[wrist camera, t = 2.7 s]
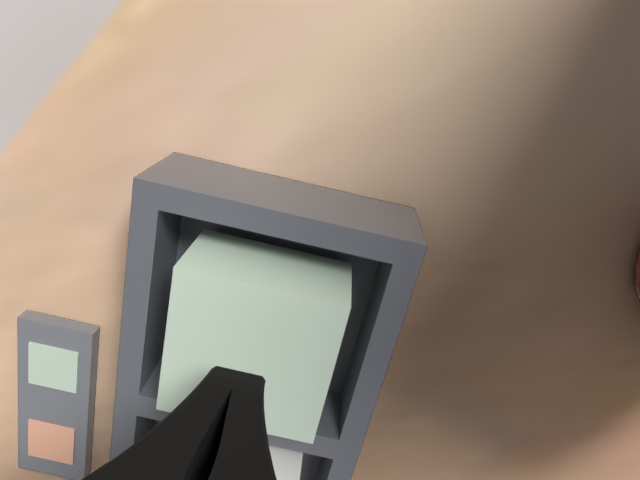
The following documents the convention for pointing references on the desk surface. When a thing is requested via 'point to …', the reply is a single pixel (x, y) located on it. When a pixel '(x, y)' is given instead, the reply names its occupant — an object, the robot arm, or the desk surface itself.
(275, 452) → the white key
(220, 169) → the grey divided tray
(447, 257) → the desk surface
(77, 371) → the card
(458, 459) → the desk surface
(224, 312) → the sage key
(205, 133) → the desk surface
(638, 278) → the supplement bottle
